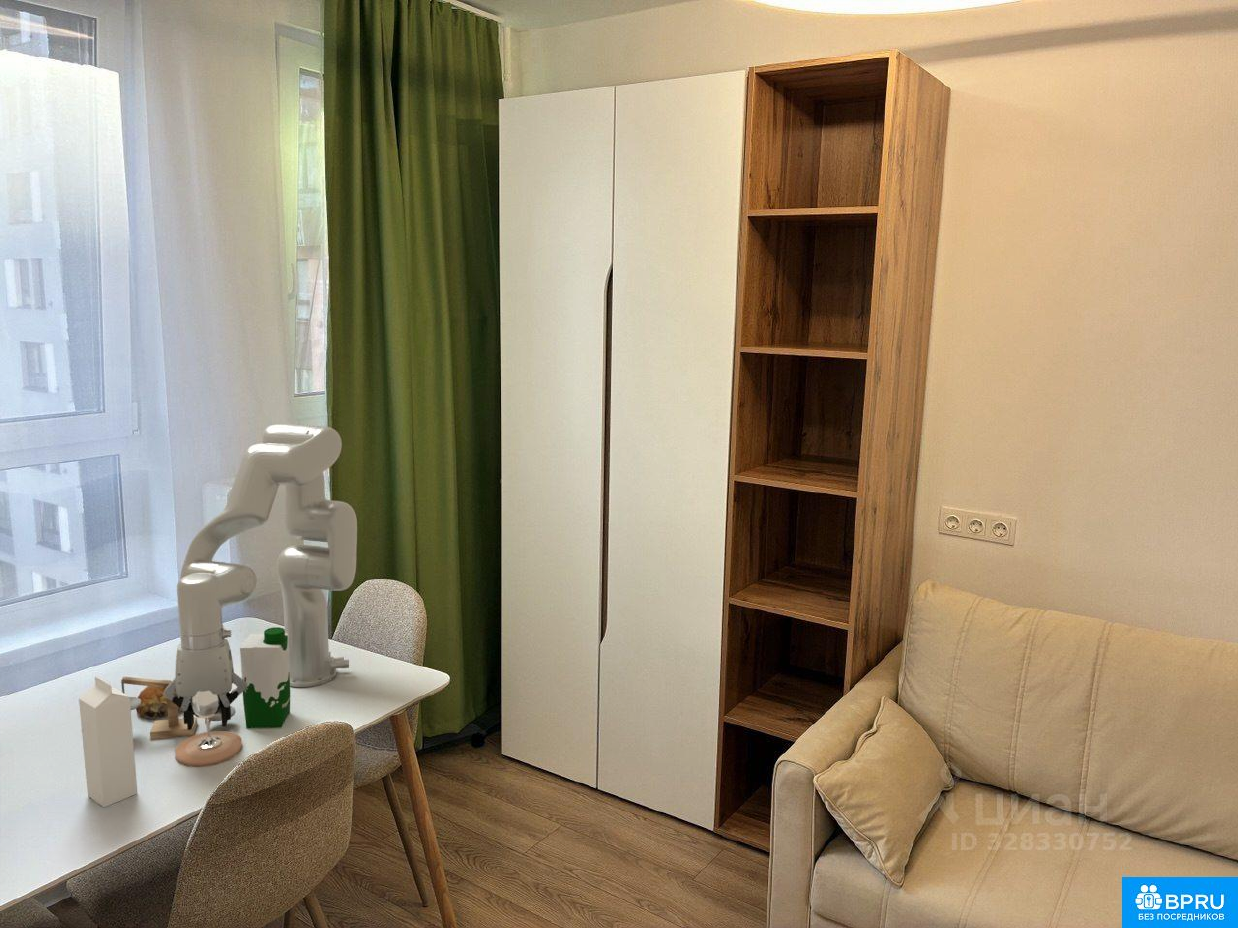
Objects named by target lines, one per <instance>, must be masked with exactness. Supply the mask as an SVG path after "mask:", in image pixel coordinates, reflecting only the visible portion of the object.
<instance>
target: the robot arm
mask: <svg viewBox="0 0 1238 928" xmlns="http://www.w3.org/2000/svg"><path fill="white" fill-rule="evenodd" d="M262 442H263V443H254V444H252V445H250V446H248V448H247V449H246V450H245V451H244V454H243V455H242V459H241V461H240V465H239V467H238V470H237V473H236V476H235V477H234V482H233V485H232V486H231V490H230V494H229V496H228V499H227V502H226V505H225V508H224V509H223V510H222V511H221V512H220V513H218V515H216V516H215V517H214V518H212V519H211V520H210V521H209V522H207V523H206V525H204V526H203V528H202V529H201V530H199V532H197V534H196V535H195V537H193V539H192V541H191V542H190V544H189V546H188V548H187V552H186V555H185V557H184V560H183V563H182V567H181V570H180V574H179V575H180V577H179V580H178V582H177V585H176V595H177V608H178V609H177V610H178V621H179V622H178V623H179V635H180V636H179V638H180V643H178V645H177V649H176V655H175V677H174V679H173V680H171V681H172V682H171V683H170V684H169V685H168V687H167V688H166V689H165V690H164V692H163V696H165V697H166V698H168V699H169V700H171V701H172V702H173V703H174V704H176V705H177V706H179V707H180V708H181V712H182V713H183V714H182V715H183V718H184V724H187V729H188V730H191V729H192V727H193V724H194V717H195V715H194V714H193V713H192V711H191V707H190V699H191V697H193V696H195V695H196V693H197V692H198V691H210V692H211V693H212V694H214V695H219V697H220V699H221V701H222V707H221V717H222V721H221V726H222V727H227V725H228V721H231V720H232V717H231V707H232V706H231V705H232V703H233V702H234V701H235V700H236V699H237V698H238V697H239V696H240V695H241V694H243V691H244V690H245V689H246V688H247V685H248V684H247V683H246V682H245V681H244V680H243V679H242V677H240V676H239V675H238V674H236V673H235V670H234V669H235V668H234V662H233V654H232V650H231V646H230V642H229V640H228V638H232V630H231V629H226V628H225V627H224V625H223V611H222V609H223V607H226V606H230V605H234V604H238V603H240V602H243V601H245V600H247V599H248V598H249V597H250V596H251V595H252V594H253V592H254V591H255V589H256V587H257V582H258V581H257V575H256V572H255V571H254V570H253V569H252V568H251V567H249V566H246V565H243V564H239V563H233V562H231V563H230V562H224V561H215V560H214V561H213V558H214V556H215V554H216V553H217V551H218V550H219V549H220V548H221V546H223V544H224V543H226V542H227V541H229V540H230V539H232V538H233V537H235V536H238V535H240V534H243V533H245V532H247V531H251V530H252V529H255V528H258V527H260V526H263V525H265V524H266V523H267V522H268V520H269V518H270V514H271V512H272V507H273V504H274V501H275V499H276V497H277V492H278V490H279V487H280V486H284V487H285V489H284V492H285V493H284V494H285V495H284V497H285V498H284V500H285V501H284V524H285V525H284V526H285V531H286V533H287V535H288V536H289V537H291V538H294V539H295V540H296V539H297V540H302V541H310V542H321V543H327V546H328V547H325V546H320V545H319V546H318V545H310V544H308V545H307V544H294V545H290V546H288V547H286V548H284V549H283V550H282V551H281V552H280V553H279V555H278V557H277V561H276V571H277V577H278V580H279V581H278V582H279V584H280V587H281V595H282V603H283V604H282V605H283V621H284V622H283V623H284V625H283V628H284V630H285V634H289V672H290V687H293V688H295V687H296V688H307V687H315V686H319V685H322V684H325V683H328V682H329V681H331V680H333V679H334V678H335V677H336V676H337V669H348V668H350V659H345V656H339V657H334V656H332V653H331V651H330V650H329V648H330V647H329V622H328V621H329V620H328V617H329V616H328V603H327V600H326V599H327V598H326V596H325V594H324V592H323V590H324V591H336V592H337V591H338V592H339V591H345V590H347V589H349V588H350V587H351V586H352V585H353V583H354V580H355V577H356V570H357V547H358V546H357V545H358V544H357V543H358V521H357V519H358V518H357V514H356V512H355V510H354V508H353V507H352V505H350V503H347V502H345V501H343V500H341V501H340V500H331V499H327V498H326V488H325V487H326V486H325V475H324V472H325V471H326V470H327V469H329V468H330V467H332V466H333V465H334V464H335V463H336V461H337V460H338V458H340V455H341V452H342V445H343V443H342V437H341V436H340V434H339V432H338V431H337V430H335V429H334V428H333V427H329V426H323V425H310V424H309V425H308V424H300V423H299V424H298V423H297V424H296V423H277V424H276V423H275V424H271V425H269V426H267V427H266V428H265V429H264V431H263V434H262ZM233 684H234V685H235V686H236V687H235V688H234V689H233V690H232V688H233ZM175 688H176V693H177V694H176V693H175V692H174V690H175ZM183 697H184V698H183ZM230 706H231V707H230Z"/></svg>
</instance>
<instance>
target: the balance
mask: <svg viewBox="0 0 1238 928" xmlns="http://www.w3.org/2000/svg"><path fill="white" fill-rule="evenodd" d="M162 680H163V679H151V678H141V677H130V676H122V678H121V681H120V683H121V692H122V693H124V694H125V684H126V685H133V686H134V685H136V686H145V687H147V686H154V687H164V690H165V689H166V688H167V687H168V685H169V684H170V683H171V682H172V681H173V680H171V681H162ZM174 692H175V693H176V688H175V690H174ZM176 694H177V693H176ZM129 697H130V708H131V711H134V710H136V708H138V707H139V706H140V705H141V700H140V699H139V698H138V696H129ZM230 707H231V718H233V717H234V716H235V714H236V708H235V707H233V706H232V705H230ZM167 709H168V716H167V719H161V720H154V722H153V724H152V727H151V729H150V731H149V740H156V739H167V738H176V737H177V738H178V737H185V736H186V737H188V736H189V737H190V736H194V735H195V733H196V728H197V726H198V717H196V716H194V724H193V727H192V729H191V730H188V729H187V724H184V717H182V718H179V712H178V706H177V705H176V704H174V703H173V702H172V701H171V700H169V699H168V698H167ZM205 719H206V718H204V720H205ZM210 720H211V722H222V717H221V710H220V711H219V713H218V714H216V715H215V716H213V717H210Z"/></svg>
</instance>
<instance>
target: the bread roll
mask: <svg viewBox="0 0 1238 928" xmlns="http://www.w3.org/2000/svg"><path fill="white" fill-rule="evenodd" d="M161 680H162V681H172V680H170V679H161ZM163 692H164V687H154V686H145V688H144V689H143V690H141V691H140V692H139V695H138V696H137V698H139V699H140V700H141V705H140V706H139V707H138V708H136V709H135V710H136V713H137V714H138V715H139V716H140V717H142V718H147V719H153V720H155V719H156V720H157V719H161V718H165V717H166V718H168V709H167V698H166V697H165V696H163ZM183 698H184V697H183ZM180 712H182V710H181V708H180V707H179V706H178V713H180Z"/></svg>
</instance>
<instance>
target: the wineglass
mask: <svg viewBox="0 0 1238 928" xmlns="http://www.w3.org/2000/svg"><path fill="white" fill-rule="evenodd" d="M190 707H191V711H192V713H193V714H194V717H197V718H198V719H204V723H205V726H206V732H207V738H205V739H202V740H200V741H199V742H198V743H197V746H198V747H199V748H202V749H208V748H213V747H216V746H218V745H219V744H220V743H221V742H222V740H221V739H220V738H218V737H211V736H210V730H211V729H210V728H211V727H210V726H211V722H212V721H211V720H210V717H213V716H215V715H216V714H218V713H219V711H220V710H221V707H222V701H221V699H220V697H219V695H214V694H212V693H211V692H210V691H198V692H197V693H196V695H195V696H193V697H191V699H190ZM205 718H206V719H205Z"/></svg>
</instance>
